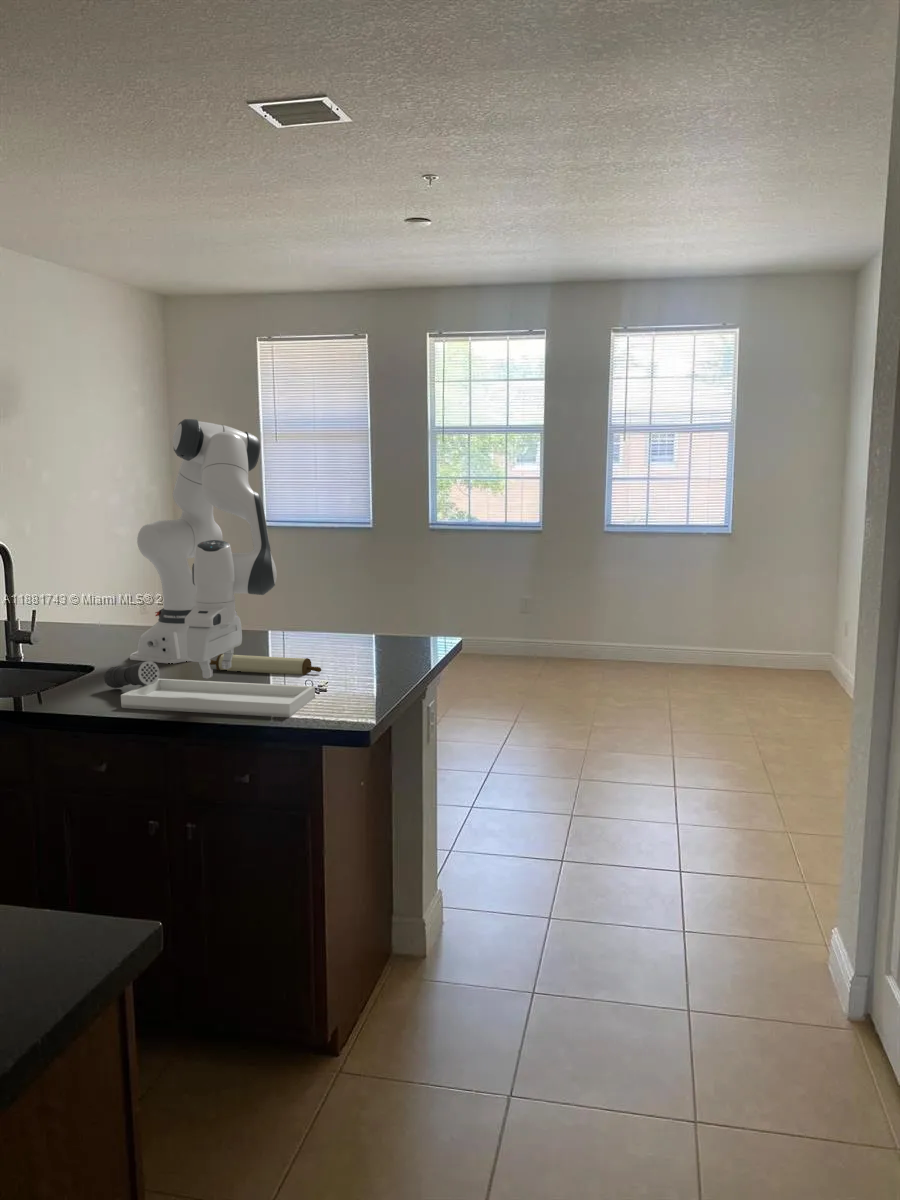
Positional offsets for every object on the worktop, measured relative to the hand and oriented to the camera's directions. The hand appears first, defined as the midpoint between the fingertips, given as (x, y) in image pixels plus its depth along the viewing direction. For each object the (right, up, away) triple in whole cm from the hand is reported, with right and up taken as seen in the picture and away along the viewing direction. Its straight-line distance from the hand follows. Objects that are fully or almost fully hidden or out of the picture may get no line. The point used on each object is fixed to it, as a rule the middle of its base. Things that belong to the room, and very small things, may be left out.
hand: (217, 672), depth 199 cm
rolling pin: (+4, -3, +31) cm, 31 cm away
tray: (0, -7, +1) cm, 7 cm away
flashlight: (-26, -6, +14) cm, 30 cm away
